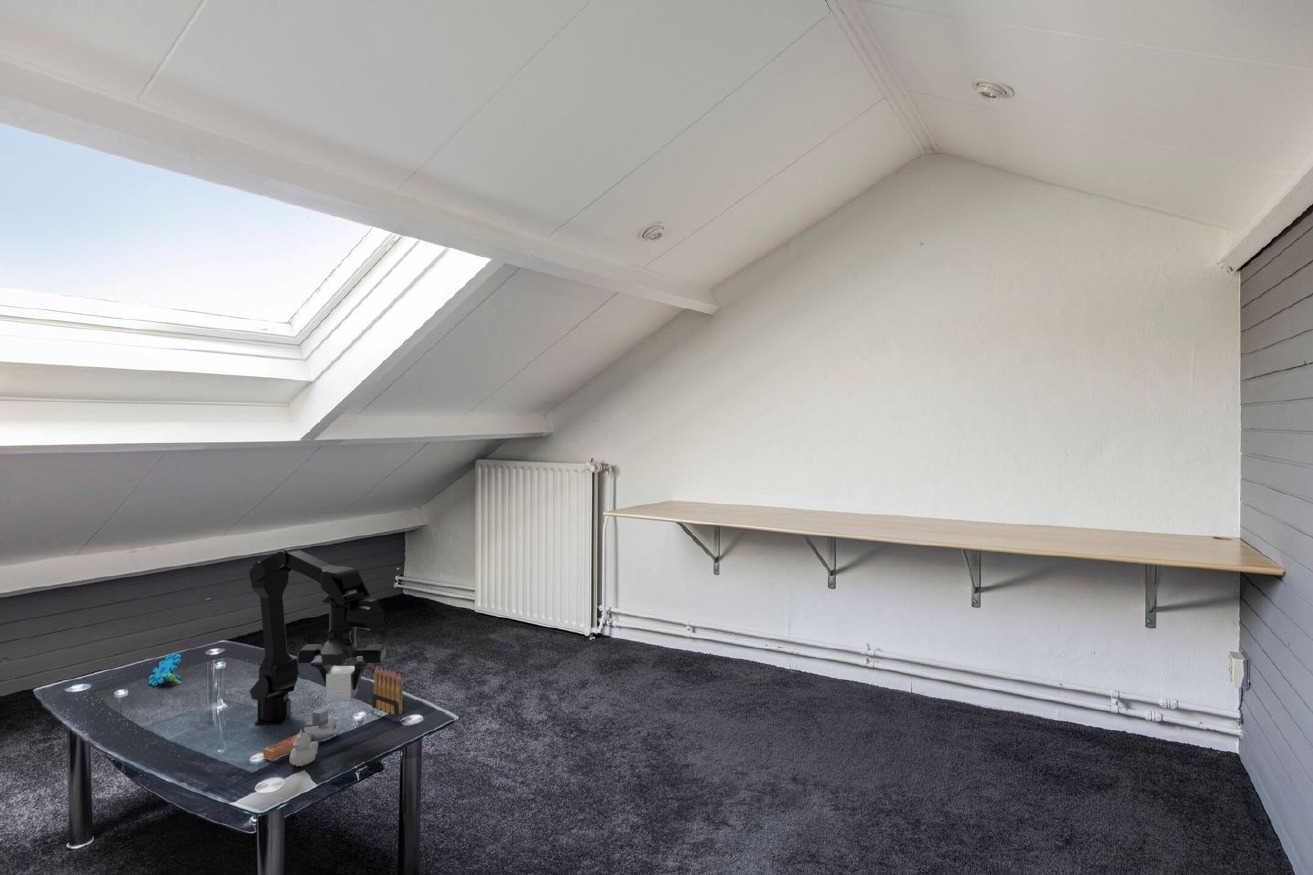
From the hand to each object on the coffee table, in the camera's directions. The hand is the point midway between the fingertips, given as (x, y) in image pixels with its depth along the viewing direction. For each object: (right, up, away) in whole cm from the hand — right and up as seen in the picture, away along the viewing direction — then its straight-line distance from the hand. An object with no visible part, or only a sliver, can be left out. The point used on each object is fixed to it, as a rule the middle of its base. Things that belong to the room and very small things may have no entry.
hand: (341, 689), depth 181 cm
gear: (-64, -10, +37) cm, 75 cm away
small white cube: (0, -2, 0) cm, 2 cm away
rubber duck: (-3, -12, -13) cm, 18 cm away
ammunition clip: (+6, -11, +13) cm, 18 cm away
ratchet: (-8, -12, -4) cm, 14 cm away
